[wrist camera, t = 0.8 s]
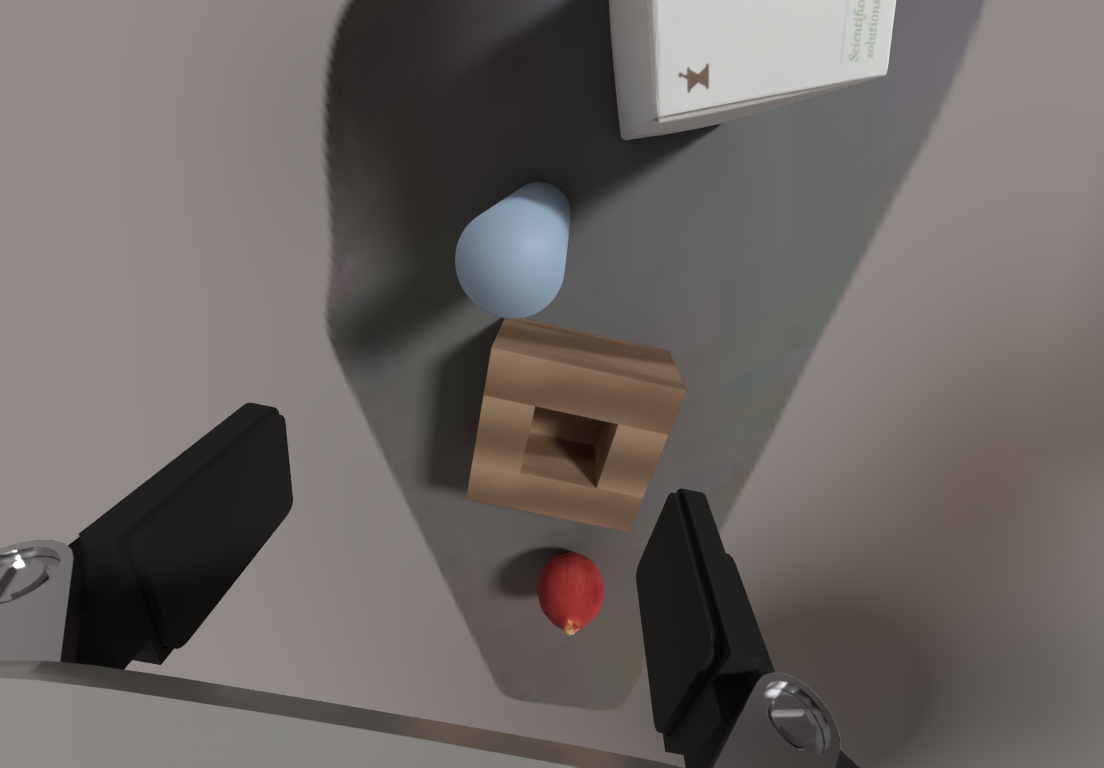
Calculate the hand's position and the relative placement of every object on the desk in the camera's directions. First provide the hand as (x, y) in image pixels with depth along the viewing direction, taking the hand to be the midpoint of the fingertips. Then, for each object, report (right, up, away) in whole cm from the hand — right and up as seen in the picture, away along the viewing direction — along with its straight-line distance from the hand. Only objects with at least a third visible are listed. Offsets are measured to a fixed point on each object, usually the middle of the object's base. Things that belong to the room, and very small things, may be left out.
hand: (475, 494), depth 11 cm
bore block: (+3, +1, +24) cm, 24 cm away
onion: (+4, -13, +32) cm, 35 cm away
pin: (+1, +13, +18) cm, 22 cm away
